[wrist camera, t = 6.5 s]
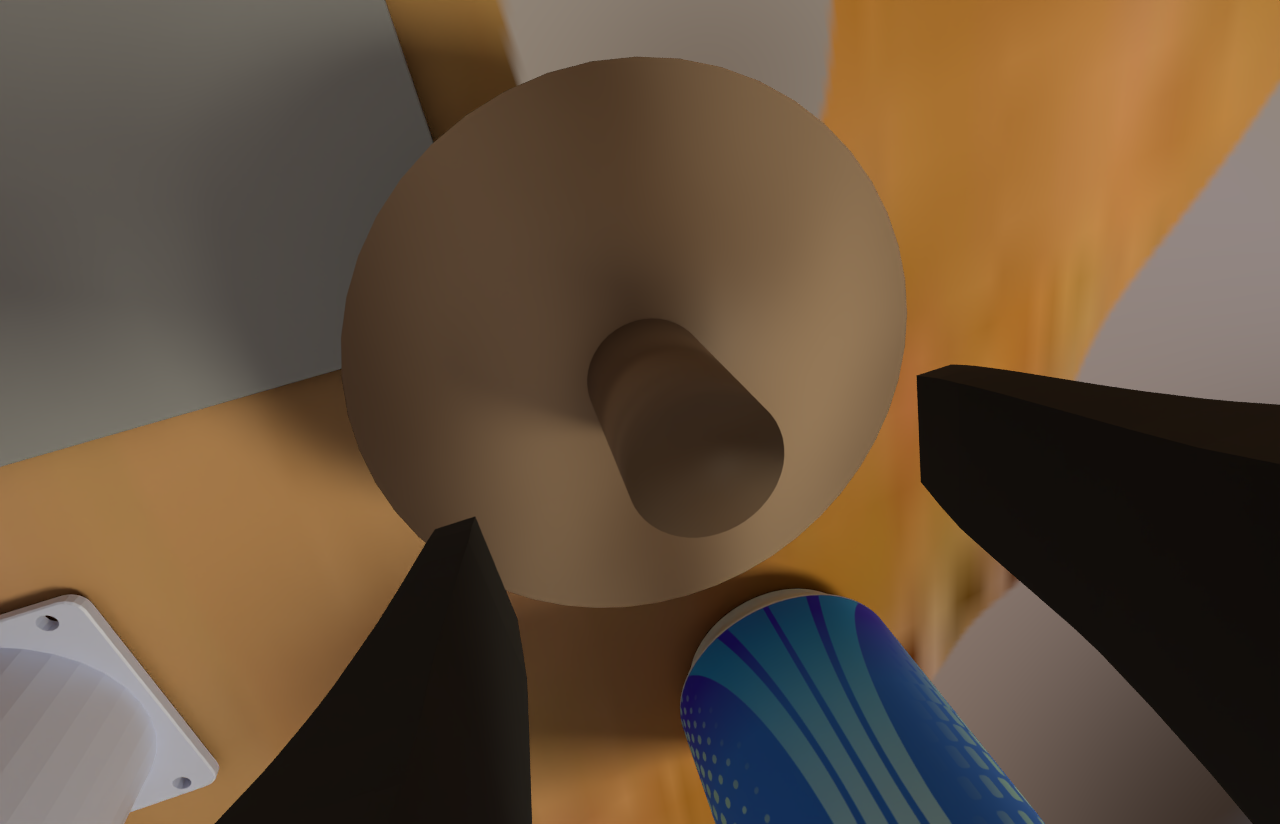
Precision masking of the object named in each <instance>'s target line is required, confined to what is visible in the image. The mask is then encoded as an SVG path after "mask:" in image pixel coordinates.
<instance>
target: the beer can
mask: <svg viewBox="0 0 1280 824" xmlns="http://www.w3.org/2000/svg"><path fill="white" fill-rule="evenodd" d="M680 716H681V722H682V726H683V729H684V732H685V735H686V738H687V741H688V744H689V747H690V750H691V753H692V756H693V759H694V762H695V765H696V767H697V770H698V773H699V776H700V779H701V782H702V785H703V788H704V791H705V794H706V797H707V800H708V803H709V806H710V809H711V812H712V815H713V817H714V820H715V823H716V824H1045V823H1044V822H1043V821H1042V819H1041V818H1040V817H1039V816H1038V814H1037V813H1036V812H1035V810H1034V809H1033V808H1032V807H1031V806H1030V804H1029V803H1028V802H1027V801H1026V799H1025V798H1024V797H1023V796H1022V794H1021V793H1020V792H1019V791H1018V789H1017V788H1016V787H1015V786H1014V784H1013V783H1012V782H1011V781H1010V779H1009V778H1008V777H1007V776H1006V774H1005V773H1004V772H1003V771H1002V770H1001V768H1000V767H999V766H998V764H997V763H996V762H995V761H994V760H993V758H992V757H991V756H990V755H989V753H988V752H987V751H986V750H985V748H984V747H983V746H982V745H981V743H980V742H979V741H978V740H977V738H976V737H975V736H974V735H973V733H972V732H971V731H970V730H969V728H968V727H967V726H966V725H965V724H964V722H963V721H962V720H961V719H960V717H959V716H958V715H957V714H956V712H955V711H954V710H953V709H952V707H951V706H950V705H949V704H948V703H947V701H946V700H945V699H944V697H943V696H942V695H941V694H940V692H939V691H938V690H937V689H936V688H935V686H934V685H933V684H932V682H931V681H930V680H929V679H928V678H927V676H926V675H925V674H924V673H923V671H922V670H921V669H920V668H919V666H918V665H917V664H916V663H915V661H914V660H913V659H912V658H911V656H910V655H909V654H908V653H907V651H906V650H905V649H904V648H903V646H902V645H901V644H900V643H899V641H898V640H897V639H896V638H895V637H894V635H893V634H892V633H891V632H890V630H889V629H888V628H887V627H886V625H885V624H884V623H883V622H882V620H881V619H880V618H879V617H878V616H877V615H876V614H875V613H874V612H873V611H872V610H870V609H869V608H868V607H866V606H865V605H863V604H861V603H859V602H857V601H855V600H852V599H850V598H846V597H843V596H838V595H832V594H826V593H823V592H820V591H816V590H810V589H785V590H779V591H774V592H770V593H767V594H763V595H761V596H758V597H755V598H753V599H751V600H749V601H747V602H745V603H743V604H741V605H740V606H738V607H736V608H735V609H733V610H732V611H730V612H729V613H728V614H726V615H725V616H724V617H723V618H722V619H721V620H719V621H718V622H717V623H716V624H715V625H714V626H713V627H712V629H711V630H710V631H709V632H708V633H707V635H706V636H705V637H704V639H703V640H702V642H701V644H700V645H699V647H698V649H697V651H696V653H695V655H694V658H693V661H692V664H691V669H690V671H689V673H688V675H687V678H686V680H685V683H684V686H683V689H682V694H681V700H680Z"/></svg>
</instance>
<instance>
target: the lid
mask: <svg viewBox="0 0 1280 824" xmlns="http://www.w3.org/2000/svg"><path fill="white" fill-rule="evenodd" d="M906 320H907V307H906V289H905V277H904V272H903V267H902V262H901V256H900V251H899V246H898V243H897V240H896V237H895V234H894V231H893V228H892V225H891V222H890V219H889V216H888V213H887V211H886V209H885V207H884V205H883V203H882V201H881V199H880V197H879V195H878V193H877V191H876V189H875V187H874V185H873V183H872V181H871V180H870V178H869V177H868V176H867V174H866V173H865V171H864V170H863V168H862V167H861V166H860V164H859V163H858V161H857V160H856V158H855V157H854V155H853V154H852V153H851V151H850V150H849V149H848V148H847V147H846V146H845V145H844V144H843V143H842V142H841V141H840V140H839V139H838V138H837V137H836V135H835V134H834V133H833V132H832V131H831V130H830V129H829V128H828V127H827V126H826V125H825V124H824V123H823V122H821V121H820V120H819V119H817V118H816V117H815V116H814V115H812V114H811V113H810V112H808V111H807V110H806V109H805V108H803V107H802V106H801V105H799V104H798V103H797V102H796V101H794V100H792V99H791V98H789V97H787V96H785V95H783V94H782V93H780V92H778V91H776V90H774V89H773V88H771V87H769V86H767V85H765V84H763V83H762V82H760V81H757V80H755V79H752V78H749V77H747V76H744V75H741V74H738V73H736V72H733V71H730V70H728V69H725V68H722V67H718V66H713V65H708V64H703V63H698V62H693V61H688V60H683V59H674V58H651V57H629V58H620V59H610V60H601V61H592V62H588V63H584V64H580V65H577V66H572V67H569V68H566V69H561V70H557V71H553V72H550V73H546V74H544V75H542V76H540V77H537V78H535V79H533V80H530V81H528V82H525V83H523V84H521V85H518V86H516V87H514V88H511V89H509V90H507V91H505V92H503V93H501V94H500V95H498V96H497V97H495V98H493V99H492V100H490V101H489V102H487V103H485V104H484V105H482V106H480V107H479V108H477V109H476V110H474V111H472V112H471V113H469V114H467V115H466V116H465V117H463V118H462V119H461V120H460V121H459V122H458V123H456V124H455V125H454V126H453V127H452V128H450V129H449V130H448V131H447V132H446V133H444V134H443V135H442V136H441V137H440V138H439V139H437V140H436V141H435V142H434V143H433V144H431V145H430V146H429V148H428V149H427V150H426V151H425V152H424V153H423V154H422V156H421V157H420V158H419V159H418V160H417V161H416V162H415V163H414V165H413V166H412V167H411V168H410V169H409V170H408V171H407V172H406V174H405V175H404V176H403V177H402V178H401V179H400V181H399V182H398V184H397V185H396V187H395V189H394V190H393V192H392V193H391V195H390V196H389V198H388V199H387V201H386V202H385V204H384V205H383V207H382V209H381V210H380V212H379V213H378V215H377V216H376V218H375V220H374V223H373V225H372V227H371V229H370V231H369V233H368V236H367V238H366V240H365V242H364V244H363V247H362V249H361V251H360V253H359V255H358V258H357V262H356V265H355V269H354V272H353V276H352V279H351V283H350V286H349V290H348V293H347V296H346V303H345V311H344V319H343V326H342V334H341V367H342V382H343V388H344V394H345V400H346V406H347V412H348V416H349V420H350V423H351V426H352V429H353V432H354V435H355V438H356V441H357V444H358V447H359V450H360V452H361V454H362V456H363V458H364V460H365V462H366V464H367V466H368V468H369V470H370V472H371V474H372V476H373V479H374V481H375V483H376V484H377V485H378V487H379V488H380V490H381V491H382V493H383V494H384V496H385V497H386V499H387V500H388V501H389V503H390V504H391V506H392V507H393V509H394V510H395V512H396V513H397V514H398V515H399V516H400V517H401V518H402V519H403V520H404V521H405V522H406V523H407V525H408V526H409V527H410V528H411V529H412V530H413V531H414V532H415V533H416V534H417V535H418V537H420V538H421V539H422V540H423V541H424V542H427V541H428V539H429V538H430V536H431V534H432V533H433V531H434V530H435V529H437V528H440V527H443V526H446V525H450V524H453V523H456V522H459V521H462V520H465V519H468V518H472V517H476V519H477V522H478V524H479V527H480V529H481V532H482V534H483V536H484V539H485V541H486V544H487V546H488V549H489V551H490V553H491V556H492V558H493V561H494V563H495V566H496V568H497V571H498V573H499V575H500V578H501V580H502V583H503V585H504V588H505V590H506V591H509V592H512V593H515V594H518V595H521V596H524V597H527V598H530V599H534V600H540V601H545V602H550V603H555V604H560V605H567V606H579V607H591V608H607V607H630V606H637V605H645V604H652V603H659V602H663V601H667V600H671V599H675V598H679V597H683V596H687V595H690V594H693V593H696V592H699V591H702V590H705V589H707V588H710V587H713V586H716V585H718V584H720V583H722V582H725V581H727V580H729V579H731V578H733V577H735V576H737V575H740V574H742V573H744V572H746V571H747V570H749V569H751V568H752V567H754V566H756V565H757V564H759V563H761V562H762V561H764V560H766V559H767V558H769V557H771V556H772V555H774V554H775V553H776V552H778V551H779V550H780V549H782V548H783V547H784V546H786V545H787V544H789V543H790V542H791V541H793V540H794V539H795V538H797V537H798V536H799V535H800V534H801V533H802V532H803V531H804V530H805V529H807V528H808V527H809V526H810V525H811V524H812V523H813V522H814V521H815V520H816V519H818V518H819V517H820V516H821V515H822V513H823V512H824V511H825V510H826V509H827V508H828V507H829V506H830V505H831V503H832V502H833V501H834V500H835V499H836V498H837V497H838V496H839V495H840V493H841V492H842V491H843V489H844V488H845V487H846V485H847V484H848V483H849V481H850V480H851V478H852V477H853V476H854V474H855V473H856V472H857V470H858V469H859V467H860V466H861V464H862V462H863V461H864V459H865V457H866V455H867V454H868V452H869V450H870V449H871V447H872V445H873V443H874V442H875V440H876V438H877V435H878V433H879V431H880V429H881V426H882V424H883V422H884V420H885V417H886V415H887V413H888V411H889V408H890V404H891V401H892V398H893V395H894V392H895V389H896V385H897V382H898V379H899V374H900V368H901V363H902V358H903V353H904V348H905V334H906Z"/></svg>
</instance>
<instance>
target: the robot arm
mask: <svg viewBox="0 0 1280 824" xmlns="http://www.w3.org/2000/svg"><path fill="white" fill-rule="evenodd" d="M917 397H918V422H919V447H920V472H921V483H922V484H923V485H924V486H925V488H926V489H927V490H928V491H929V492H930V494H931V495H932V496H933V497H934V499H935V500H936V501H937V502H938V503H939V505H940V506H941V507H942V508H943V509H944V510H945V512H946V513H947V514H948V515H949V516H950V517H951V518H952V519H953V520H954V522H955V523H956V524H957V525H958V526H959V527H960V528H961V529H962V530H963V531H964V532H965V533H966V534H967V535H968V536H970V537H971V538H972V539H973V540H974V541H975V542H976V543H977V544H978V545H980V546H981V547H982V548H983V549H984V550H985V551H986V552H987V553H989V554H990V555H991V556H992V557H993V558H994V559H995V560H996V561H998V562H999V563H1000V564H1001V565H1002V566H1003V567H1004V568H1006V569H1007V570H1008V571H1009V572H1010V573H1011V574H1013V575H1014V576H1015V577H1016V578H1017V579H1018V580H1019V581H1021V582H1022V583H1023V584H1024V585H1025V586H1026V587H1028V588H1029V589H1030V590H1031V591H1032V592H1033V593H1034V594H1036V595H1037V596H1038V597H1039V598H1040V599H1041V600H1042V601H1044V602H1045V603H1046V604H1047V605H1048V606H1049V607H1050V608H1052V609H1053V610H1054V611H1055V612H1056V613H1057V614H1059V615H1060V616H1061V617H1062V618H1063V619H1064V620H1065V621H1067V622H1068V623H1069V624H1070V625H1071V626H1072V627H1074V629H1076V630H1077V631H1078V632H1079V633H1080V634H1081V635H1082V636H1083V637H1084V638H1085V639H1086V640H1087V641H1088V642H1089V643H1090V644H1091V645H1093V646H1094V647H1095V648H1096V649H1097V650H1098V651H1099V652H1100V653H1101V654H1102V655H1103V656H1104V657H1105V658H1106V659H1107V660H1108V662H1109V663H1110V664H1111V665H1112V666H1113V667H1114V668H1115V669H1116V670H1117V671H1118V672H1119V673H1120V674H1121V675H1122V676H1123V677H1124V678H1125V679H1126V680H1127V682H1128V683H1129V684H1130V685H1131V686H1132V687H1133V688H1134V689H1135V690H1136V691H1137V692H1138V693H1139V694H1140V695H1141V696H1142V697H1143V699H1144V700H1145V701H1146V702H1147V703H1148V704H1149V705H1150V706H1151V707H1152V708H1153V709H1154V710H1155V711H1156V713H1157V714H1158V715H1159V716H1160V717H1161V718H1162V719H1163V720H1164V722H1165V723H1166V724H1167V725H1168V726H1169V727H1170V728H1171V729H1172V730H1173V732H1174V733H1175V734H1176V735H1177V736H1178V737H1179V738H1180V740H1181V741H1182V742H1183V743H1184V744H1185V745H1186V746H1187V747H1188V749H1189V750H1190V751H1191V752H1192V753H1193V754H1194V755H1195V756H1196V757H1197V759H1198V760H1199V761H1200V762H1201V763H1202V764H1203V765H1204V766H1205V768H1206V769H1207V770H1208V771H1209V772H1210V773H1211V774H1212V776H1213V777H1214V778H1215V779H1216V780H1217V782H1218V783H1219V784H1220V785H1221V786H1222V787H1223V789H1224V790H1225V791H1226V792H1227V793H1228V795H1229V796H1230V797H1231V798H1232V799H1233V801H1234V802H1235V803H1236V804H1237V806H1239V808H1240V809H1241V810H1242V811H1243V812H1244V814H1245V815H1246V816H1247V817H1248V819H1249V820H1250V821H1251V822H1252V823H1253V824H1280V405H1276V404H1262V403H1247V402H1233V401H1223V400H1213V399H1203V398H1194V397H1186V396H1176V395H1169V394H1161V393H1152V392H1145V391H1138V390H1131V389H1124V388H1117V387H1109V386H1103V385H1097V384H1090V383H1084V382H1078V381H1072V380H1065V379H1059V378H1053V377H1047V376H1041V375H1034V374H1028V373H1022V372H1016V371H1009V370H1002V369H995V368H988V367H979V366H969V365H948V366H945V367H942V368H939V369H936V370H933V371H930V372H926V373H923V374H920V375H917ZM46 615H48V616H52V617H54V618H56V619H57V620H58V621H53V620H50V619H48V618H47V617H45V616H46ZM218 771H219V765H218V763H217V761H216V760H215V759H214V757H213V756H212V755H211V754H210V752H209V751H208V750H207V749H206V747H205V746H204V745H203V743H202V742H201V741H200V740H199V738H198V737H197V736H196V735H195V733H194V732H193V731H192V729H191V728H190V727H189V726H188V724H187V723H186V722H185V721H184V719H183V718H182V717H181V716H180V714H179V713H178V712H177V710H176V709H175V708H174V707H173V705H172V704H171V703H170V702H169V700H168V699H167V698H166V696H165V695H164V694H163V693H162V691H161V690H160V689H159V688H158V686H157V685H156V684H155V682H154V681H153V680H152V679H151V677H150V676H149V675H148V674H147V672H146V671H145V670H144V668H143V667H142V666H141V665H140V663H139V662H138V661H137V660H136V658H135V657H134V656H133V654H132V653H131V652H130V651H129V649H128V648H127V647H126V646H125V644H124V643H123V642H122V640H121V639H120V638H119V637H118V635H117V634H116V633H115V632H114V630H113V629H112V628H111V627H110V625H109V624H108V623H107V621H106V620H105V619H104V618H103V616H102V615H101V614H100V613H99V611H98V610H97V609H96V607H95V606H94V605H93V604H92V603H91V602H90V601H89V600H88V599H87V598H85V597H82V596H80V595H73V594H68V595H62V596H59V597H56V598H52V599H49V600H46V601H43V602H40V603H36V604H33V605H30V606H27V607H23V608H20V609H17V610H14V611H10V612H7V613H4V614H1V615H0V824H124V823H125V821H126V819H127V817H128V815H129V813H130V812H132V811H135V810H138V809H141V808H144V807H147V806H150V805H152V804H155V803H158V802H161V801H164V800H167V799H170V798H173V797H176V796H178V795H181V794H184V793H187V792H190V791H193V790H196V789H199V788H202V787H205V786H207V785H209V784H211V783H212V782H213V781H214V780H215V779H216V776H217V773H218ZM184 777H185V778H184ZM215 824H532V808H531V777H530V746H529V717H528V691H527V676H526V669H525V663H524V656H523V650H522V644H521V638H520V632H519V626H518V620H517V617H516V614H515V612H514V609H513V607H512V605H511V602H510V600H509V597H508V595H507V592H506V590H505V588H504V585H503V583H502V580H501V578H500V575H499V573H498V571H497V568H496V566H495V563H494V561H493V558H492V556H491V553H490V551H489V549H488V546H487V544H486V541H485V539H484V536H483V534H482V532H481V529H480V527H479V524H478V522H477V519H476V517H472V518H468V519H465V520H462V521H459V522H456V523H453V524H450V525H446V526H443V527H440V528H437V529H435V530H434V531H433V533H432V534H431V536H430V538H429V539H428V541H427V542H426V544H425V546H424V547H423V549H422V551H421V553H420V554H419V556H418V558H417V559H416V561H415V563H414V564H413V566H412V568H411V569H410V571H409V573H408V574H407V576H406V578H405V579H404V581H403V583H402V584H401V586H400V588H399V589H398V591H397V593H396V594H395V596H394V597H393V599H392V601H391V602H390V604H389V605H388V607H387V609H386V610H385V612H384V613H383V615H382V617H381V618H380V620H379V621H378V623H377V624H376V626H375V627H374V629H373V630H372V632H371V633H370V635H369V636H368V638H367V639H366V640H365V642H364V643H363V645H362V646H361V648H360V649H359V650H358V652H357V653H356V655H355V656H354V658H353V659H352V660H351V662H350V663H349V665H348V666H347V668H346V669H345V671H344V672H343V673H342V675H341V676H340V678H339V679H338V681H337V682H336V683H335V685H334V686H333V687H332V689H331V690H330V691H329V693H328V694H327V695H326V697H325V698H324V699H323V701H322V702H321V703H320V705H319V706H318V707H317V708H316V710H315V711H314V712H313V713H312V715H311V716H310V717H309V718H308V720H307V721H306V722H305V723H304V725H303V726H302V727H301V728H300V729H299V731H298V732H297V733H296V734H295V735H294V737H293V738H292V739H291V740H290V741H289V743H288V744H287V745H286V746H285V747H284V749H283V750H282V751H281V752H280V753H279V755H278V756H277V757H276V758H275V759H274V760H273V762H272V763H271V764H270V765H269V766H268V767H267V768H266V769H265V771H264V772H263V773H262V774H261V775H260V776H259V777H258V778H257V779H256V780H255V781H254V782H253V784H252V785H251V786H250V787H249V788H248V789H247V790H246V791H245V792H244V793H243V794H242V795H241V796H240V797H239V798H238V800H237V801H236V802H235V803H234V804H233V805H232V806H231V807H230V808H229V809H228V810H227V811H226V812H225V813H224V814H223V815H222V817H221V818H220V819H219V820H218V821H217V822H216V823H215Z"/></svg>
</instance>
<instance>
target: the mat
mask: <svg viewBox="0 0 1280 824" xmlns="http://www.w3.org/2000/svg"><path fill="white" fill-rule="evenodd" d="M433 143H434V142H433V139H432V136H431V133H430V130H429V127H428V124H427V121H426V119H425V116H424V113H423V110H422V107H421V104H420V101H419V98H418V95H417V92H416V89H415V86H414V83H413V80H412V77H411V74H410V71H409V69H408V66H407V63H406V60H405V57H404V54H403V51H402V48H401V45H400V42H399V39H398V36H397V33H396V30H395V27H394V24H393V22H392V19H391V16H390V13H389V10H388V7H387V4H386V1H385V0H0V467H1V466H4V465H8V464H11V463H15V462H18V461H22V460H25V459H29V458H32V457H36V456H39V455H43V454H46V453H50V452H53V451H57V450H60V449H64V448H67V447H71V446H74V445H77V444H81V443H84V442H88V441H91V440H95V439H98V438H102V437H105V436H109V435H112V434H116V433H119V432H123V431H126V430H130V429H133V428H137V427H140V426H144V425H147V424H151V423H154V422H158V421H161V420H165V419H168V418H172V417H175V416H179V415H182V414H185V413H189V412H192V411H196V410H199V409H203V408H206V407H210V406H213V405H217V404H220V403H224V402H227V401H231V400H234V399H238V398H241V397H245V396H248V395H252V394H255V393H259V392H262V391H266V390H269V389H273V388H276V387H280V386H283V385H286V384H290V383H293V382H297V381H300V380H304V379H307V378H311V377H314V376H318V375H321V374H325V373H328V372H332V371H335V370H339V369H342V367H341V334H342V326H343V319H344V311H345V303H346V296H347V293H348V290H349V286H350V283H351V279H352V276H353V272H354V269H355V265H356V262H357V258H358V255H359V253H360V251H361V249H362V247H363V244H364V242H365V240H366V238H367V236H368V233H369V231H370V229H371V227H372V225H373V223H374V220H375V218H376V216H377V215H378V213H379V212H380V210H381V209H382V207H383V205H384V204H385V202H386V201H387V199H388V198H389V196H390V195H391V193H392V192H393V190H394V189H395V187H396V185H397V184H398V182H399V181H400V179H401V178H402V177H403V176H404V175H405V174H406V172H407V171H408V170H409V169H410V168H411V167H412V166H413V165H414V163H415V162H416V161H417V160H418V159H419V158H420V157H421V156H422V154H423V153H424V152H425V151H426V150H427V149H428V148H429V146H430V145H431V144H433Z"/></svg>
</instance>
